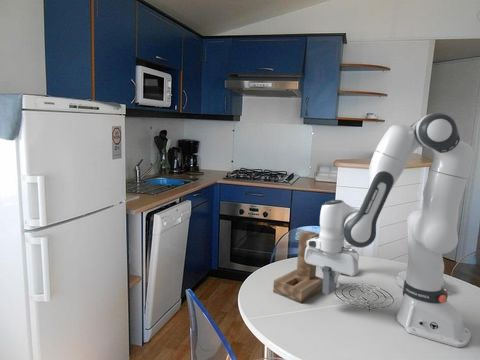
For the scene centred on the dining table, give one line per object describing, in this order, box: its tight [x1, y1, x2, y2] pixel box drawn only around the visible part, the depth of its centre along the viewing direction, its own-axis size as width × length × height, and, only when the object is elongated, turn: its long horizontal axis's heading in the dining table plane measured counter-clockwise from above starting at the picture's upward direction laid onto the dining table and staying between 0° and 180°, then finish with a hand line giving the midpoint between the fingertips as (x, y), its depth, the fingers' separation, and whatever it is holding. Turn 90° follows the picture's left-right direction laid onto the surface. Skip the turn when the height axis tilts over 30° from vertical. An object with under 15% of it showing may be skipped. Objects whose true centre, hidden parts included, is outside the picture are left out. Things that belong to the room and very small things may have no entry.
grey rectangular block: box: [322, 266, 337, 295], centre depth 136 cm, size 2×8×10 cm, turn 139°
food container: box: [395, 269, 447, 290], centre depth 159 cm, size 20×20×7 cm
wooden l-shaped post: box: [272, 230, 323, 304], centre depth 147 cm, size 13×16×23 cm
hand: (329, 280), depth 136 cm, fingers closed on grey rectangular block, 2 cm apart
